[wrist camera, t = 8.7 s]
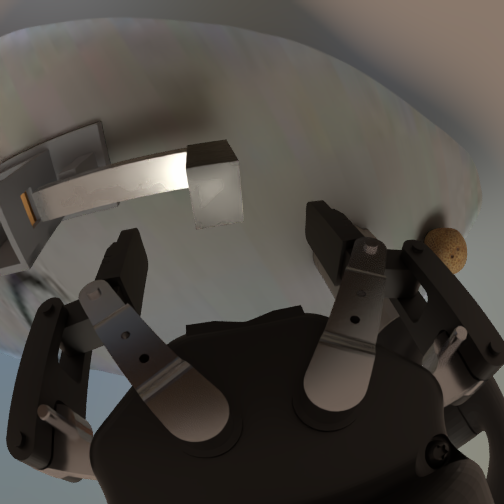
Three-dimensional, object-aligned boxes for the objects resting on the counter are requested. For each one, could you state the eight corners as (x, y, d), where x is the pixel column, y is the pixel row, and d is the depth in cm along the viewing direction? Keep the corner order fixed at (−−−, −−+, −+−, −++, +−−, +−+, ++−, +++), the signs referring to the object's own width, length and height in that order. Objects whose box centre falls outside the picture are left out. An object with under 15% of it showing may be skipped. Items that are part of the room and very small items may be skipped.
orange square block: (21, 184, 19) (3, 192, 18) (36, 226, 22) (19, 232, 21) (42, 168, 23) (24, 175, 22) (54, 205, 26) (36, 211, 25)
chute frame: (101, 121, 23) (48, 150, 13) (120, 201, 29) (90, 266, 19) (2, 162, 21) (-56, 208, 11) (25, 227, 27) (-17, 287, 17)
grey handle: (224, 135, 21) (238, 160, 15) (228, 180, 23) (243, 221, 17) (36, 182, 18) (-5, 222, 12) (50, 219, 21) (17, 266, 15)
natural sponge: (450, 218, 43) (483, 247, 35) (432, 255, 47) (460, 285, 40) (426, 212, 40) (463, 243, 32) (406, 253, 45) (437, 288, 37)
